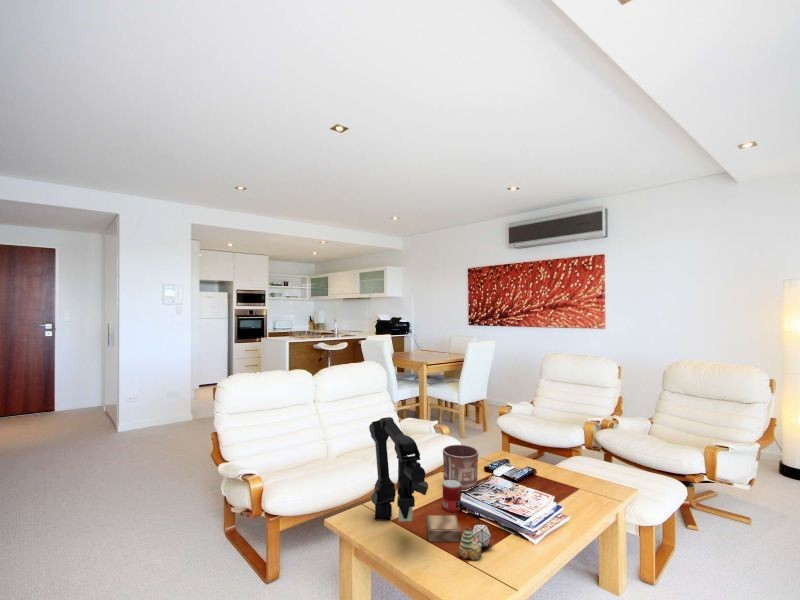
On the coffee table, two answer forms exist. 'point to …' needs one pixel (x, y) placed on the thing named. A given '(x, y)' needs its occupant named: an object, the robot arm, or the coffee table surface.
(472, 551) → the ornament
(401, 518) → the sage block
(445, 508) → the canned food
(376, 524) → the coffee table surface
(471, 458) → the pottery
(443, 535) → the pedestal
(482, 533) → the game die
